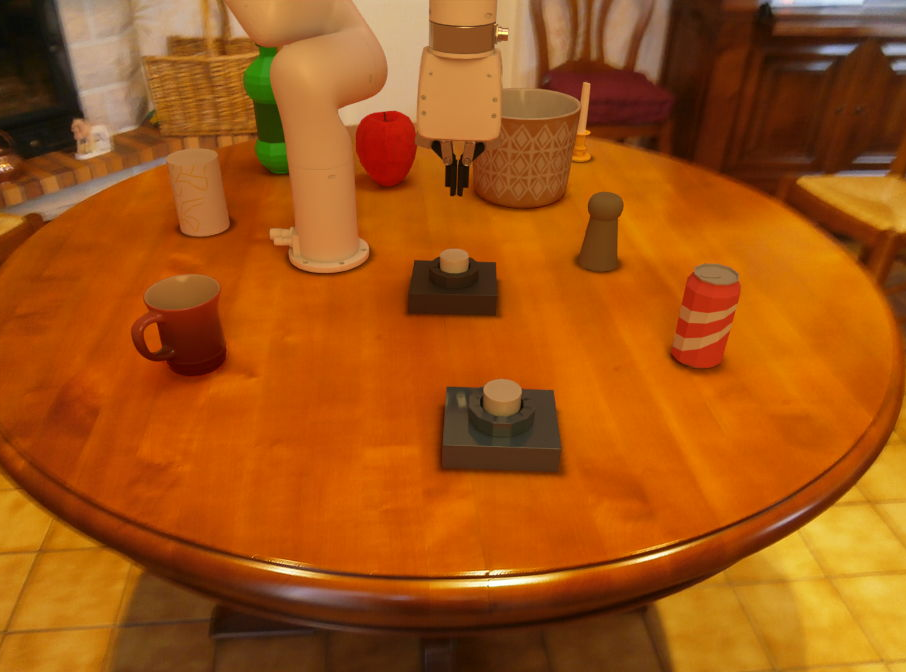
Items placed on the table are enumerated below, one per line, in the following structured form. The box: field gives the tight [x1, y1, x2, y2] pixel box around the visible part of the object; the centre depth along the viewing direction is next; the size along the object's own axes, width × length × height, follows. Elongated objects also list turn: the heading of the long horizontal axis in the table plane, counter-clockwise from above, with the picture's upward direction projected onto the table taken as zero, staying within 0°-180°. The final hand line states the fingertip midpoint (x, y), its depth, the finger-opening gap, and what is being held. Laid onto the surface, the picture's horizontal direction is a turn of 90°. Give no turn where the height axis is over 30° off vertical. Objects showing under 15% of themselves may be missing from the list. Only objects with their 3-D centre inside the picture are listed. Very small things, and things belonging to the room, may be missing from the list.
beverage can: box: [670, 263, 742, 369], centre depth 89 cm, size 6×6×12 cm
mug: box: [130, 273, 228, 378], centre depth 88 cm, size 12×9×10 cm
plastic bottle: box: [242, 42, 289, 175], centre depth 140 cm, size 10×10×25 cm
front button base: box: [441, 385, 562, 473], centre depth 79 cm, size 12×10×5 cm
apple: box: [354, 110, 418, 187], centre depth 138 cm, size 12×12×13 cm
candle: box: [572, 81, 592, 163], centre depth 149 cm, size 5×5×16 cm
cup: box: [165, 147, 231, 237], centre depth 122 cm, size 8×8×12 cm
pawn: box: [577, 191, 625, 273], centre depth 111 cm, size 6×6×11 cm
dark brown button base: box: [408, 256, 498, 317], centre depth 104 cm, size 12×10×5 cm
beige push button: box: [483, 378, 522, 416], centre depth 77 cm, size 4×4×2 cm
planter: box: [472, 87, 582, 209], centre depth 133 cm, size 19×19×16 cm
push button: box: [439, 248, 470, 273], centre depth 102 cm, size 4×4×2 cm
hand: (456, 192), depth 94 cm, fingers closed
